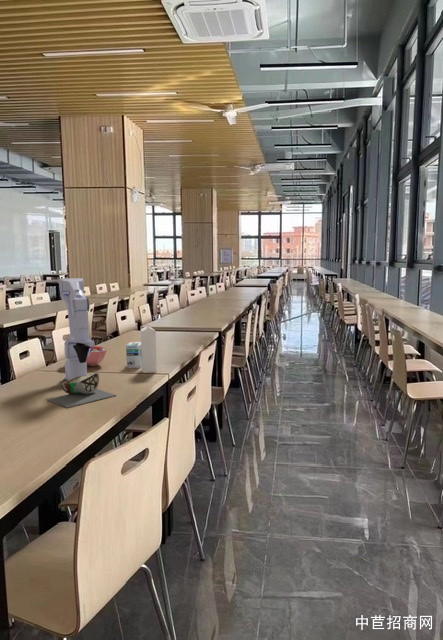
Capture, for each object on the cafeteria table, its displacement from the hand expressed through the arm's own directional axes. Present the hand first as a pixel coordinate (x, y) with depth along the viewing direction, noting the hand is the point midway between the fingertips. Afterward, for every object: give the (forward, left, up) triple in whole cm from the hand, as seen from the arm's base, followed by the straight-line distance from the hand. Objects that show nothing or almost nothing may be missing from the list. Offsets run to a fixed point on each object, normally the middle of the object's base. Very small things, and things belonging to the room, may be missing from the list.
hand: (82, 362), depth 192 cm
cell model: (-35, +23, -11) cm, 43 cm away
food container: (+2, -7, -9) cm, 11 cm away
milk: (-4, +36, -11) cm, 38 cm away
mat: (+12, -8, -10) cm, 18 cm away
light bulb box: (-18, +39, -11) cm, 44 cm away
